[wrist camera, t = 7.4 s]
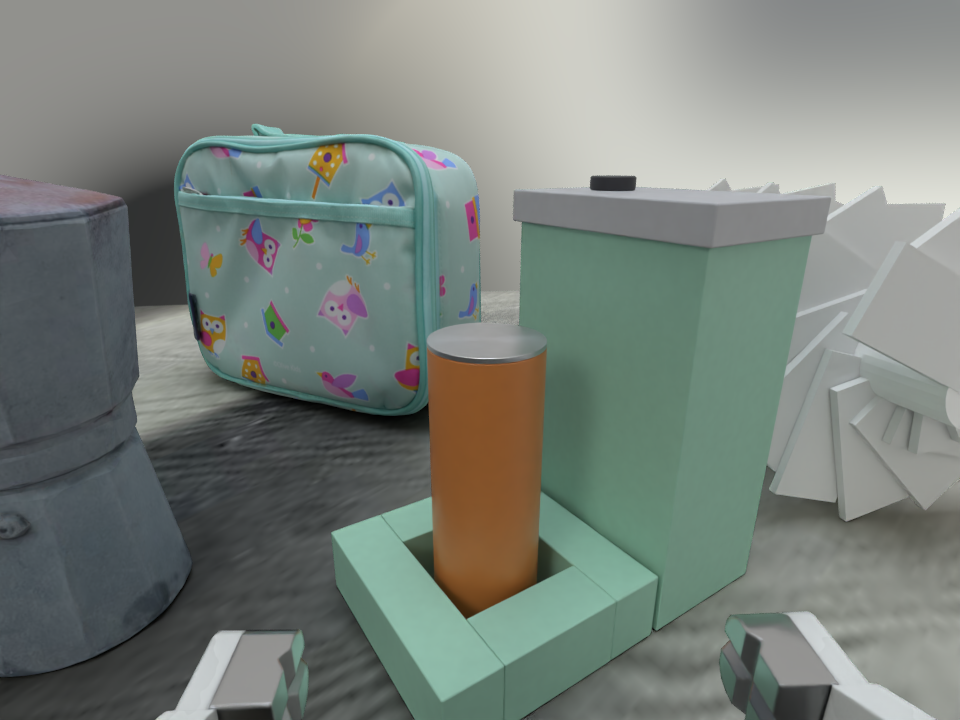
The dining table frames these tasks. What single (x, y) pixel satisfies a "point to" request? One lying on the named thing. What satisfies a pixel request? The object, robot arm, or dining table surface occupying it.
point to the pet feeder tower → (663, 363)
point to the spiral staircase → (872, 358)
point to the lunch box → (327, 262)
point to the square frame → (491, 615)
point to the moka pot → (73, 437)
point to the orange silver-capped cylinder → (485, 459)
